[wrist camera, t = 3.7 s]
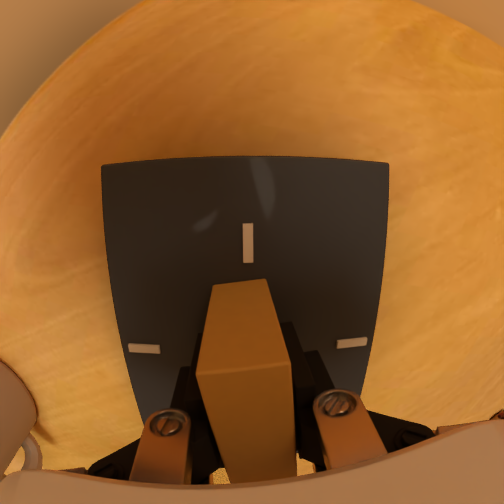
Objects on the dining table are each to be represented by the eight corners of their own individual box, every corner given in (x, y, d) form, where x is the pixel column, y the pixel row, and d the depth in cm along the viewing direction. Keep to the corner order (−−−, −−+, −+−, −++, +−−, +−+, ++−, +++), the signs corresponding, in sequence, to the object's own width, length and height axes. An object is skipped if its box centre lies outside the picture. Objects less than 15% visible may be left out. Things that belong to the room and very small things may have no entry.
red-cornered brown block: (212, 284, 11) (192, 379, 6) (265, 277, 11) (293, 368, 6) (235, 404, 13) (237, 508, 7) (278, 398, 13) (299, 501, 7)
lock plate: (127, 167, 13) (98, 164, 10) (360, 165, 13) (392, 162, 10) (161, 419, 16) (152, 455, 13) (333, 414, 17) (347, 448, 14)
